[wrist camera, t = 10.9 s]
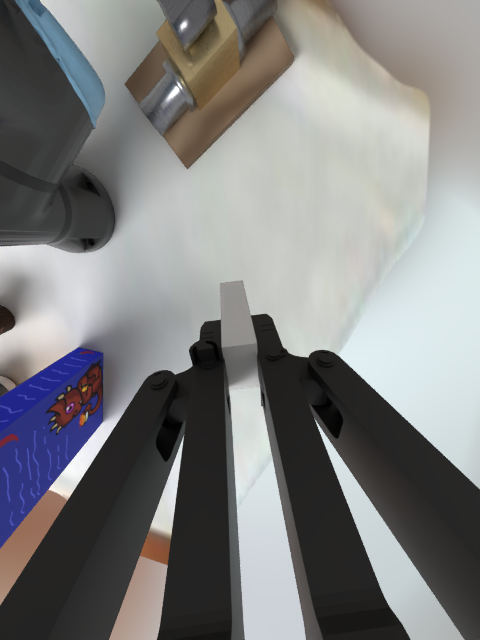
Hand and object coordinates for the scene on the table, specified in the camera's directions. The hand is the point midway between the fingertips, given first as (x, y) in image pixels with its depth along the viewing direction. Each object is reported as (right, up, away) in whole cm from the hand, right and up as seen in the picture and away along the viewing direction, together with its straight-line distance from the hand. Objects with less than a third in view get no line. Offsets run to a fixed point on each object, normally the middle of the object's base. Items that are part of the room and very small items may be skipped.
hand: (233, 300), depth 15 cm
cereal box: (-37, -18, +42) cm, 59 cm away
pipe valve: (-5, +37, +20) cm, 42 cm away
